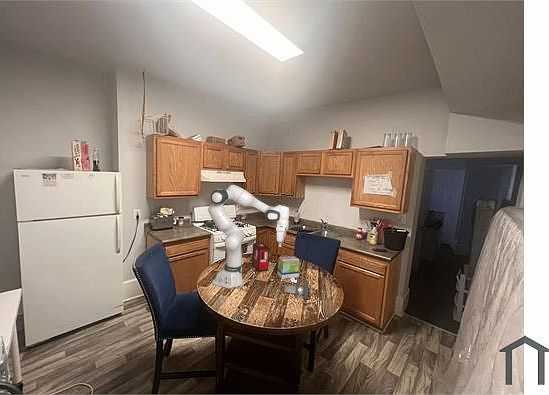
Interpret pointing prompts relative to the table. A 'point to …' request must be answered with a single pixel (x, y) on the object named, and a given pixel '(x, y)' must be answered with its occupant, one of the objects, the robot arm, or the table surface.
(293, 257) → the tea box
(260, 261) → the cleaning product box
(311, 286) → the collars
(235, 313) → the table surface
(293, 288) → the tube
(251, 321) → the table surface
